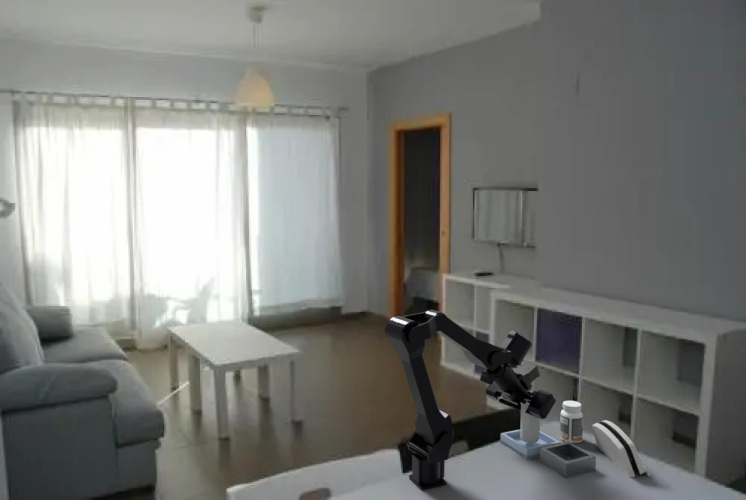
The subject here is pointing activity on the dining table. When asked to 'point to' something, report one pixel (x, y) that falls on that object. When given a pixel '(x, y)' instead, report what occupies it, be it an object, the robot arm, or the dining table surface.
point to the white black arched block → (618, 448)
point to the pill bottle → (571, 422)
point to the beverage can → (529, 426)
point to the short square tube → (575, 466)
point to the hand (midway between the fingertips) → (533, 413)
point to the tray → (525, 448)
